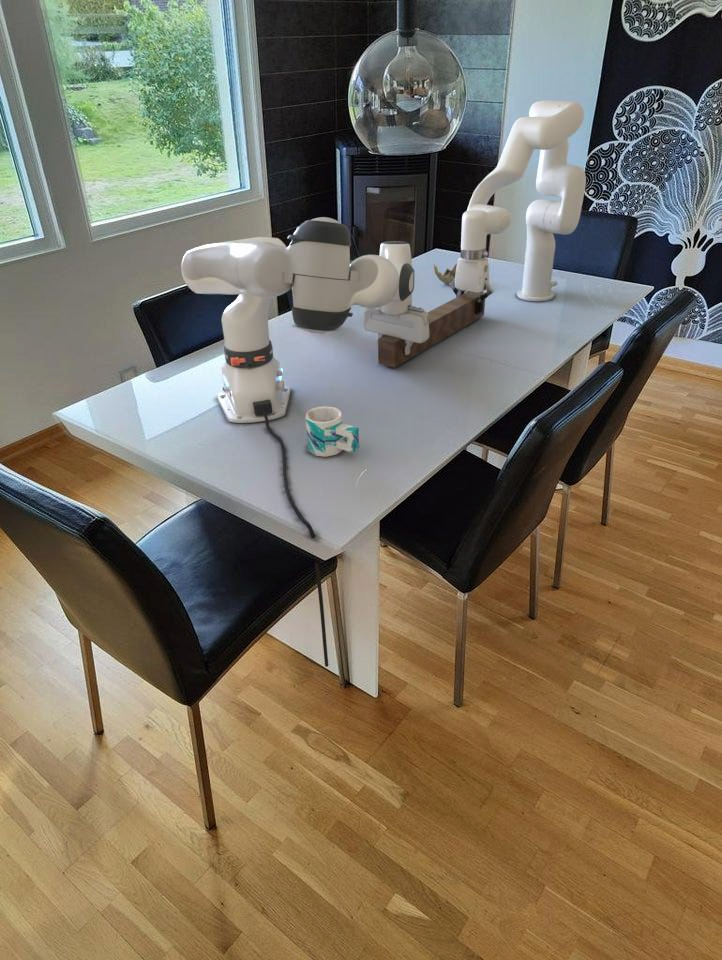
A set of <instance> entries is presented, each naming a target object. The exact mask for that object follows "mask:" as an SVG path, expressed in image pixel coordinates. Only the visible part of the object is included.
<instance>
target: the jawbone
mask: <svg viewBox="0 0 722 960" xmlns="http://www.w3.org/2000/svg"><path fill="white" fill-rule="evenodd" d="M457 263H458V261H457V262H456V264H454V265H453V267H452V269H451V270H450V269H449V268H446V270H445V271H444V273H442V272H440V271H439V269H438V268H437V267H438V266H437V265H436V264H433V270H434V273H435V276H436V277H437V279H438V280H439V281H440V282H442V284H444V285H445V286H449V284H450V283H451V282H452V281H453V280H454V279H455V274H456V267H457Z"/></svg>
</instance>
